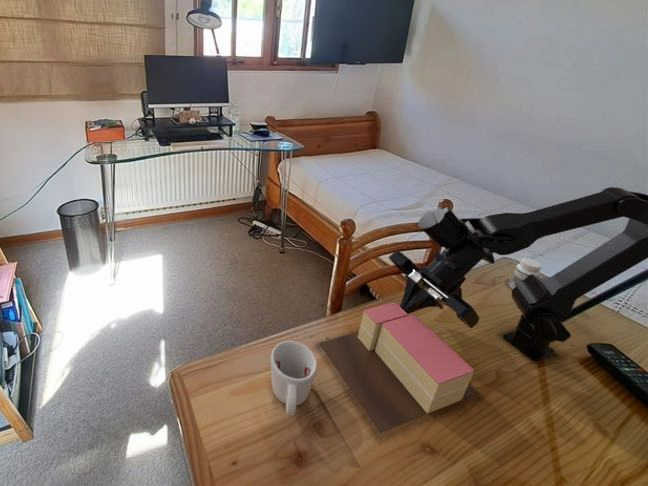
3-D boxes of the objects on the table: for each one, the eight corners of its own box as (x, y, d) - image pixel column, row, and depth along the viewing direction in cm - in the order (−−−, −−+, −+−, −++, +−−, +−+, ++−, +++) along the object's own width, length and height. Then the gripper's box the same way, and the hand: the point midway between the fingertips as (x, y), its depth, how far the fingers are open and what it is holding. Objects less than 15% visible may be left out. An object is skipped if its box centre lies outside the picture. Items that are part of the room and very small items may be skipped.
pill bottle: (526, 285, 91) (538, 259, 88) (534, 296, 87) (547, 270, 84) (505, 280, 92) (516, 255, 89) (512, 292, 88) (524, 265, 85)
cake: (405, 341, 71) (414, 314, 69) (461, 400, 60) (475, 370, 57) (374, 350, 69) (381, 323, 66) (427, 414, 58) (439, 383, 55)
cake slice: (387, 328, 74) (395, 301, 72) (400, 341, 71) (408, 314, 68) (357, 337, 72) (363, 309, 69) (369, 351, 69) (376, 323, 66)
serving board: (400, 322, 77) (401, 319, 77) (476, 397, 62) (477, 393, 61) (317, 346, 71) (318, 342, 70) (378, 436, 55) (379, 433, 55)
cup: (312, 436, 55) (319, 403, 52) (263, 424, 56) (267, 391, 53) (311, 375, 65) (316, 344, 62) (269, 366, 66) (273, 336, 63)
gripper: (511, 310, 66) (452, 364, 67) (430, 254, 82) (384, 298, 83) (496, 285, 60) (432, 345, 61) (413, 230, 77) (364, 278, 78)
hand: (400, 313), depth 71 cm, fingers closed
